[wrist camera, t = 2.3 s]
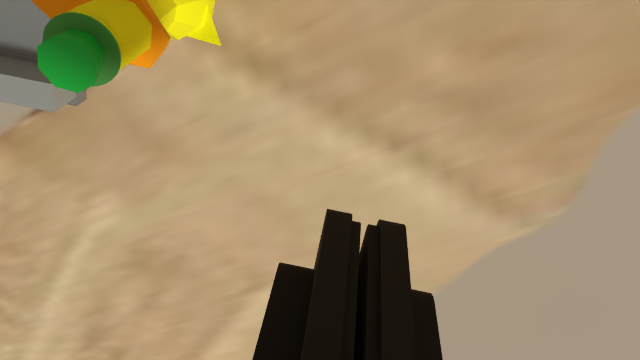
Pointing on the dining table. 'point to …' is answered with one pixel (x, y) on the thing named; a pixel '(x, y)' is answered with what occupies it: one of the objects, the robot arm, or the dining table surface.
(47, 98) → the u rest
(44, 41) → the toy figure
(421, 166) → the dining table surface
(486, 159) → the dining table surface
